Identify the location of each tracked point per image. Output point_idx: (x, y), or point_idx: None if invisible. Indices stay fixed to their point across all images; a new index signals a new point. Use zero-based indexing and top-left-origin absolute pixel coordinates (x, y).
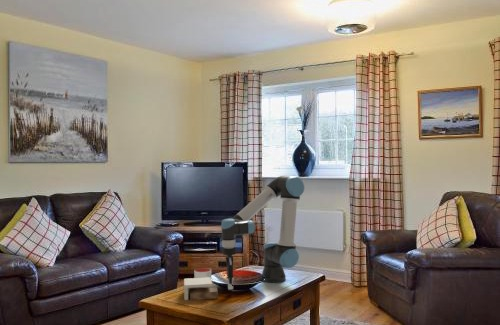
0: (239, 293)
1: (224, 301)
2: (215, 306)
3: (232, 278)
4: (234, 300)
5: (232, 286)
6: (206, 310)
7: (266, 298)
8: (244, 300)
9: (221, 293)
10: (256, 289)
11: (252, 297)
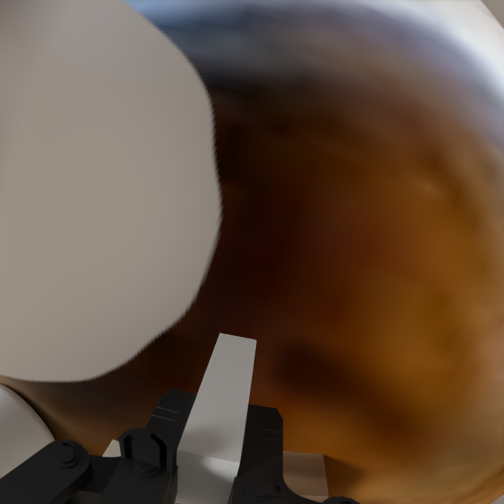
0: (258, 238)
1: (427, 423)
2: (467, 466)
3: (239, 452)
4: (453, 351)
5: (252, 367)
6: (479, 491)
7: (497, 61)
8: (494, 266)
9: None
10: (180, 19)
11: (451, 155)
